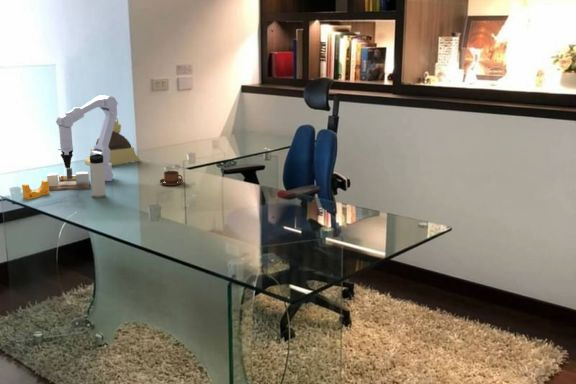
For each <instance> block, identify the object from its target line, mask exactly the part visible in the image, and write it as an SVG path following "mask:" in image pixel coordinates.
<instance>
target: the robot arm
mask: <svg viewBox="0 0 576 384" xmlns="http://www.w3.org/2000/svg"><path fill="white" fill-rule="evenodd" d="M118 105H119V104H118V101H117V99H116V98H115V97H114V96H112V95H111V96H109V95H103V94H99V95H98V96H95V97H94V98H93V99H92V100H90V101H88V102H87V103H85V104H84V105H83V106H81V107H79V106H76V107H72V109H71V110H70V111H67V112H65V113H64V114H60V115H59V116H58V117H57V118H56V120H55V122H56V125H57V126H58V130H59V131H58V132H59V142H60V143H59V144H60V145H59V146H60V147H58V148H57V150H58V151H61V154H60V157H61V158H62V161H63V164H64V168H65V169H67V168H71V164H72V158H73V156H74V154H73V152H74V146H73V132H72V131H73V130H72V127H73V126H74V123H76V122H77V121H79V120H81V119H83V118H84V116H85V114H87V113H88V112H91V111H92V110H95V109H96V108H100V109H101V110H102V111H103V113H104V115H105V116H104V119H103V124H102V127H101V129H100V133H99V137H98V138H99V141H98V144H97V145H96V144H95V145H94V146H93V148H92V149H93V150H92V152H91V151H90V154H89V156H91V155H96V154H100V155H103V161H104V176H105V182H113V177H114V176H113V175H114V174H113V167H112V166H113V165H112V163H108V162H109V160H110V149H109V147H108V146H109V142H110V139H111V135H112V131H113V128H114V124H115V121H116V122H117V120H116V118H117V117H118V109H117V106H118Z"/></svg>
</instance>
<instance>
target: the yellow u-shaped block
mask: <svg viewBox="0 0 576 384" xmlns="http://www.w3.org/2000/svg"><path fill="white" fill-rule="evenodd" d="M21 188H22V189H21V190H22V198H23V199H27V200H32V199H36V198H41V197H42V196H45V195H49V194H50V191H49V182H48V181H47V180H46V179H43V180H41V184H40V186H39V187H38V188H37V189H35V190H32V189H31V188H30V184H28V183H24V184H21Z"/></svg>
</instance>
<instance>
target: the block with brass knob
mask: <svg viewBox="0 0 576 384" xmlns="http://www.w3.org/2000/svg"><path fill="white" fill-rule="evenodd" d="M65 169H66V170H65V171H66V175H58V181H59V182H66V181H76V174H73V167H70V168H65Z"/></svg>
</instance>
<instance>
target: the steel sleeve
mask: <svg viewBox="0 0 576 384" xmlns="http://www.w3.org/2000/svg"><path fill="white" fill-rule="evenodd" d="M75 175H76V185H89V186H90V175H89V171H76V172H75Z"/></svg>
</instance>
